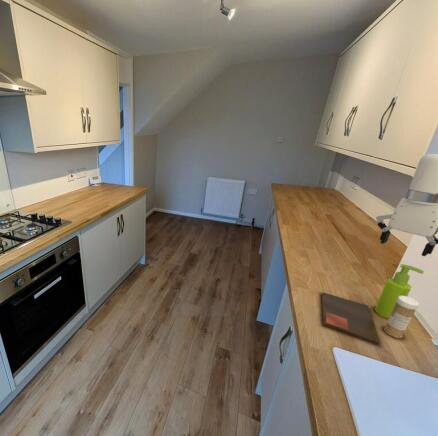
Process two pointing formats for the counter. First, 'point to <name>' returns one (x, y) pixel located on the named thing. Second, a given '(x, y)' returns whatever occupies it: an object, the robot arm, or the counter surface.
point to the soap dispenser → (394, 290)
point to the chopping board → (348, 318)
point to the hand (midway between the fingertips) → (402, 248)
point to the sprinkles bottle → (401, 316)
